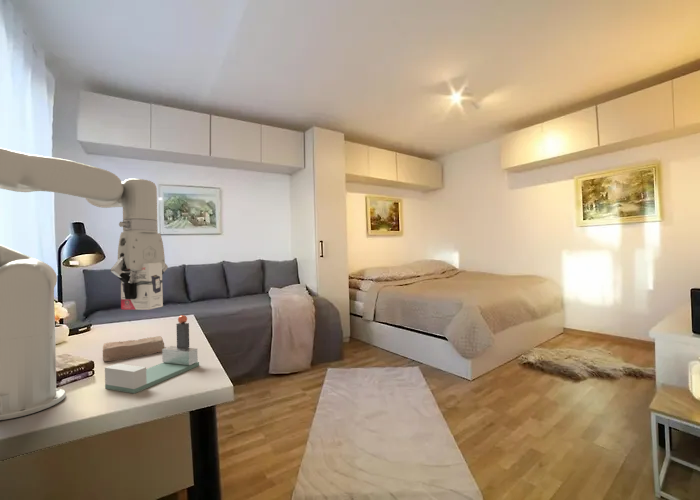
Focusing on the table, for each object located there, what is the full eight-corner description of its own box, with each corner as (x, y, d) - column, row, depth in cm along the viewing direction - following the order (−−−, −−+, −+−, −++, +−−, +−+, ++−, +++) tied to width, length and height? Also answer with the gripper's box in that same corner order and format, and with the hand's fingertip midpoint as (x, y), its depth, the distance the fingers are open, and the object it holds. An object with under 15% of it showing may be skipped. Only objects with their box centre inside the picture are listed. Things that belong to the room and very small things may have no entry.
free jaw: (189, 365, 88) (187, 317, 88) (162, 362, 91) (161, 316, 91) (200, 360, 92) (199, 315, 92) (174, 357, 95) (173, 313, 95)
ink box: (119, 309, 80) (118, 263, 81) (136, 306, 85) (135, 263, 85) (149, 309, 79) (148, 262, 79) (164, 306, 84) (163, 262, 84)
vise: (134, 393, 73) (133, 371, 73) (105, 388, 77) (104, 367, 77) (199, 365, 91) (198, 348, 91) (173, 362, 95) (172, 345, 95)
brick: (161, 347, 113) (161, 333, 113) (165, 352, 106) (164, 338, 106) (103, 357, 103) (102, 343, 103) (102, 364, 96) (102, 348, 96)
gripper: (118, 224, 73) (119, 302, 73) (178, 229, 89) (180, 293, 89) (95, 226, 75) (96, 302, 75) (158, 230, 92) (160, 293, 92)
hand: (142, 296), depth 82 cm, fingers closed on ink box, 5 cm apart
